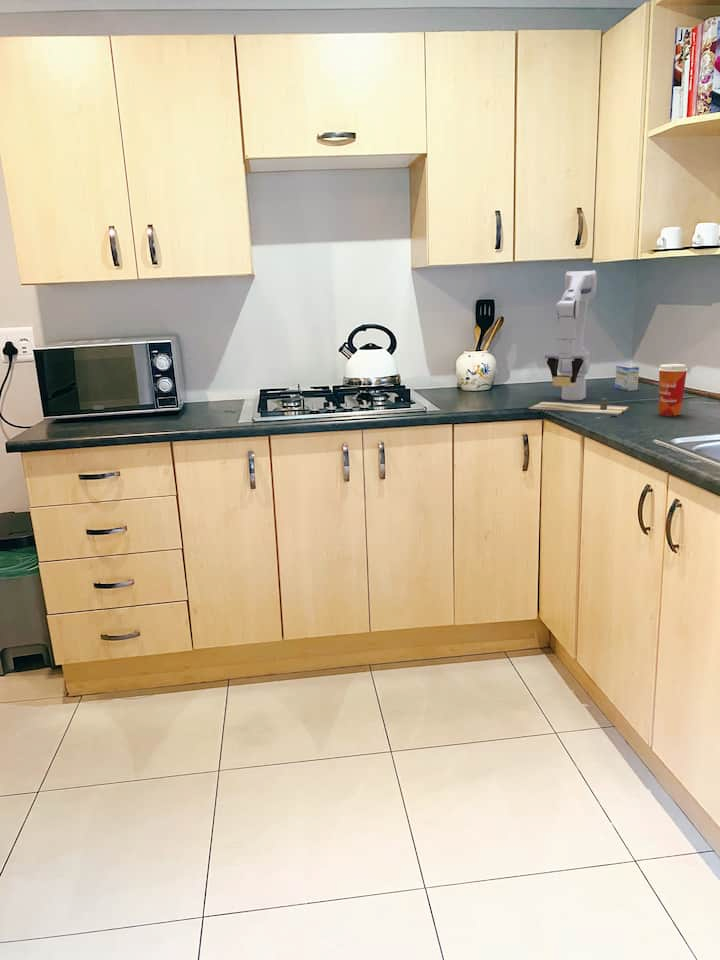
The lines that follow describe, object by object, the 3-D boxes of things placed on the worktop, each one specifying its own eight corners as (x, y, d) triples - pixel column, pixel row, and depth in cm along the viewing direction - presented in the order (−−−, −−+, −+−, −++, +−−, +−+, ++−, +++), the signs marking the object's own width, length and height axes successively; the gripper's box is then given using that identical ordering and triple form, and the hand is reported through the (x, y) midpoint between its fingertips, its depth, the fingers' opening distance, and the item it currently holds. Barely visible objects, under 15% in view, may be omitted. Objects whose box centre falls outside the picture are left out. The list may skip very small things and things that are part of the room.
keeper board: (542, 404, 244) (543, 391, 243) (628, 409, 229) (629, 395, 228) (528, 411, 233) (528, 397, 232) (617, 417, 218) (618, 402, 217)
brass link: (558, 383, 235) (558, 374, 234) (575, 384, 232) (575, 375, 231) (552, 385, 231) (553, 376, 230) (569, 386, 228) (570, 377, 227)
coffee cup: (648, 413, 222) (652, 364, 218) (670, 411, 224) (673, 362, 220) (669, 418, 214) (673, 367, 210) (690, 415, 217) (695, 365, 213)
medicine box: (614, 388, 274) (615, 365, 271) (624, 387, 275) (625, 364, 273) (627, 391, 266) (629, 367, 264) (637, 390, 268) (639, 366, 265)
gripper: (539, 339, 228) (538, 382, 232) (585, 340, 220) (583, 384, 224) (547, 338, 234) (545, 379, 238) (591, 338, 226) (589, 381, 230)
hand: (564, 382), depth 231 cm, fingers closed on brass link, 5 cm apart
